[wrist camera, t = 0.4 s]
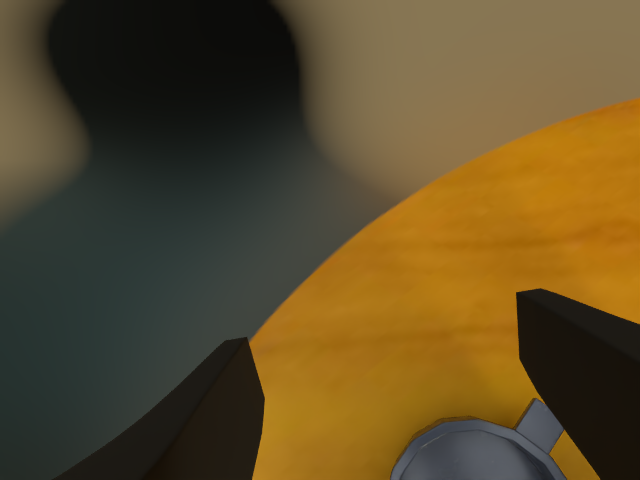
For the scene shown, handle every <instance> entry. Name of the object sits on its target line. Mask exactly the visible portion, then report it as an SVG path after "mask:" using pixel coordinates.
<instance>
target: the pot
mask: <svg viewBox="0 0 640 480" xmlns="http://www.w3.org/2000/svg"><path fill="white" fill-rule="evenodd" d="M563 431H564V428H563V427H562V426H561V424H560V423H559V421H558V420H557V419H556V417H555V416H554V415H553V413H552V412H551V410H550V409H549V408H548V406H547V405H545V404H544V403H542V402H541V401H540V400H538V399H537V398H533V399H532V400H531V401H530V403H529V405H528V406H527V408H526V409H525V411H524V412H523V414H522V415H521V417H520V418H519V420H518V421H517V423H516V424H515V426H514V428H513V429H511V428H508V427H505V426H502V425H499V424H496V423H492V422H489V421H486V420H482V419H479V418H476V417H472V416H463V417H452V418H443V419H439V420H437V421H435V422H434V423H432V424H430V425H428V426H426V427H425V428H423V429H422V430H420V431H418V432H417V433H415V434H414V435H413V436H412V438H411V439H410V441H409V442H408V444H407V445H406V447H405V448H404V450H403V451H402V452H401V454H400V455H399V457H398V458H397V460H396V463H395V465H394V467H393V469H392V472H391V477H390V480H567V478H566V477H565V476H564V474H563V473H562V471H561V470H560V468H559V467H558V465H557V464H556V463H555V461H554V460H553V458H552V457H551V456H550V455H549V453H550V451H551V450H552V448H553V447H554V445H555V443H556V442H557V440H558V439H559V437H560V435H561V434H562V432H563Z"/></svg>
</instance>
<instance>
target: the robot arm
mask: <svg viewBox="0 0 640 480" xmlns="http://www.w3.org/2000/svg"><path fill="white" fill-rule="evenodd" d="M516 299H517V319H518V338H519V358H520V361H521V363H522V365H523V367H524V368H525V370H526V372H527V374H528V376H529V378H530V380H531V382H532V383H533V385H534V387H535V389H536V390H537V392H538V394H539V395H540V396H541V398H542V399H543V401H544V402H545V404H546V405H547V406H548V408H549V409H550V410H551V412H552V413H553V415H554V416H555V417H556V419H557V420H558V421H559V423H560V424H561V426H562V427H563V428H564V430H565V431H566V432H567V434H568V435H569V436H570V438H571V439H572V440H573V442H574V443H575V445H576V446H577V447H578V449H579V450H580V451H581V453H582V454H583V455H584V457H585V458H586V459H587V461H588V462H589V464H590V465H591V466H592V468H593V469H594V470H595V472H596V473H597V475H598V476H599V478H600V479H601V480H640V324H637V323H634V322H631V321H629V320H626V319H623V318H620V317H617V316H615V315H612V314H609V313H607V312H604V311H601V310H599V309H596V308H593V307H591V306H588V305H586V304H583V303H580V302H578V301H575V300H573V299H570V298H567V297H565V296H562V295H559V294H557V293H554V292H551V291H548V290H544V289H541V288H540V289H534V290H528V291H522V292H516ZM264 402H265V397H264V394H263V390H262V387H261V383H260V380H259V377H258V373H257V370H256V366H255V363H254V359H253V356H252V352H251V349H250V346H249V342H248V339H247V337H244V338H238V339H232V340H226V341H224V342H223V343H222V344H221V345H220V346H218V348H216V349H215V350H214V351H213V352H212V353H211V354H210V355H209V356H208V357H207V358H206V359H205V360H204V361H203V362H202V363H201V364H200V365H199V366H198V367H197V368H196V369H195V370H194V371H193V372H192V373H191V374H190V375H188V376H187V377H186V378H185V379H184V380H183V381H182V382H181V383H180V384H179V385H178V386H177V387H176V388H175V389H174V390H173V391H171V392H170V393H169V394H168V395H167V396H166V397H165V398H164V399H162V401H160V402H159V403H158V404H157V405H156V406H155V407H154V408H152V409H151V410H150V411H149V412H148V413H147V414H145V415H144V416H143V417H142V418H141V419H139V420H138V421H137V422H136V423H134V424H133V425H132V426H130V427H129V428H128V429H127V430H125V431H124V432H123V433H121V434H120V435H119V436H117V437H116V438H115V439H113V440H112V441H110V442H109V443H108V444H106V445H105V446H103V447H102V448H100V449H99V450H97V451H96V452H94V453H93V454H91V455H90V456H88V457H87V458H85V459H84V460H82V461H81V462H79V463H78V464H76V465H75V466H73V467H72V468H70V469H69V470H67V471H66V472H64V473H62V474H61V475H59V476H57V477H56V478H54V479H52V480H252V476H253V472H254V468H255V463H256V458H257V454H258V449H259V445H260V440H261V435H262V427H263V416H264Z"/></svg>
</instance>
